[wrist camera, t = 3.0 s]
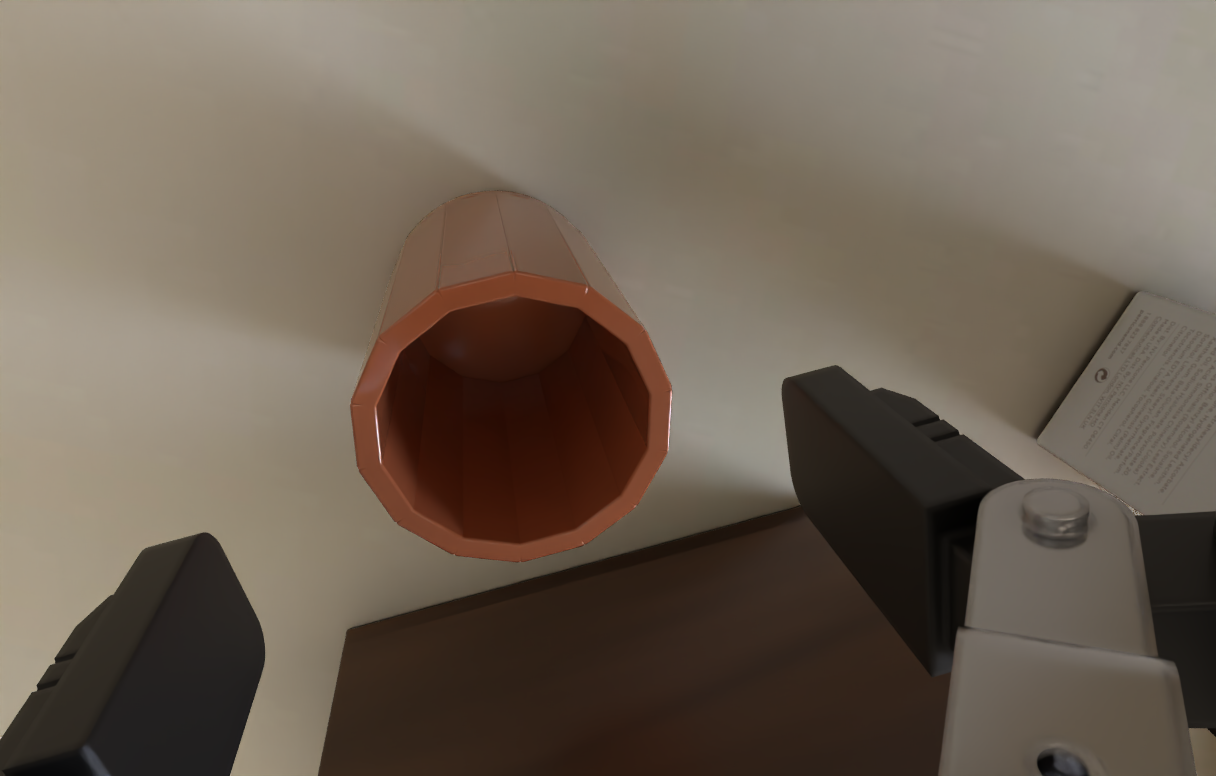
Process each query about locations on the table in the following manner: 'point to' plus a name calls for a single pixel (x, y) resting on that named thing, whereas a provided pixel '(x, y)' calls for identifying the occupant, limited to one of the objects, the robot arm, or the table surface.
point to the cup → (507, 385)
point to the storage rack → (646, 672)
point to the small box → (1146, 410)
